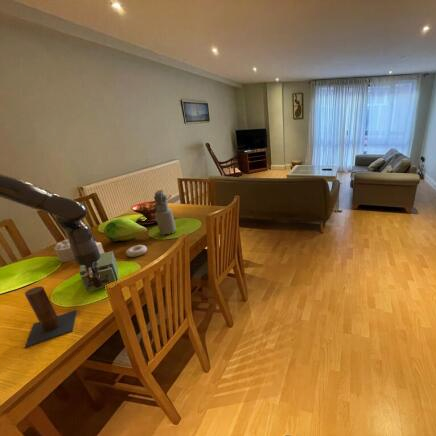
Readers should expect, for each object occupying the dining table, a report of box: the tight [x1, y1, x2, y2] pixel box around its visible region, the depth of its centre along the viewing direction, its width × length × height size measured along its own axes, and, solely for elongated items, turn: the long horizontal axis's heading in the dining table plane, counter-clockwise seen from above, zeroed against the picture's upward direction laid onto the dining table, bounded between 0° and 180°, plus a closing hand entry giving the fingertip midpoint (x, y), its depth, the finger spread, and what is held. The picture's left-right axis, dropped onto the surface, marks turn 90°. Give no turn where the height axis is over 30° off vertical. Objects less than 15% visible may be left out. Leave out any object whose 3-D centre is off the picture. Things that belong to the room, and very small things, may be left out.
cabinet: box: [78, 250, 119, 281], centre depth 111 cm, size 14×12×10 cm
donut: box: [125, 244, 148, 258], centre depth 133 cm, size 10×4×10 cm
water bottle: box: [153, 189, 177, 236], centre depth 154 cm, size 10×10×28 cm
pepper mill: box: [24, 286, 61, 332], centre depth 83 cm, size 4×4×16 cm
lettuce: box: [103, 217, 148, 243], centre depth 148 cm, size 15×22×15 cm
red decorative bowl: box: [130, 195, 172, 225], centre depth 176 cm, size 28×24×16 cm
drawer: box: [80, 265, 117, 293], centre depth 107 cm, size 17×10×8 cm, turn 35°
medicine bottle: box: [92, 235, 105, 254], centre depth 129 cm, size 7×7×12 cm
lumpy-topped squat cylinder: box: [53, 238, 75, 263], centre depth 130 cm, size 10×13×9 cm
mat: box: [24, 309, 78, 349], centre depth 86 cm, size 12×12×1 cm
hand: (99, 286), depth 99 cm, fingers closed
